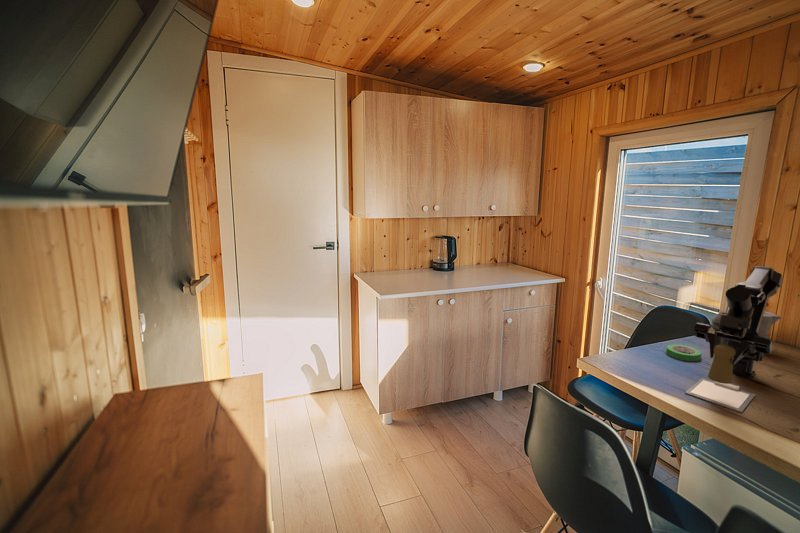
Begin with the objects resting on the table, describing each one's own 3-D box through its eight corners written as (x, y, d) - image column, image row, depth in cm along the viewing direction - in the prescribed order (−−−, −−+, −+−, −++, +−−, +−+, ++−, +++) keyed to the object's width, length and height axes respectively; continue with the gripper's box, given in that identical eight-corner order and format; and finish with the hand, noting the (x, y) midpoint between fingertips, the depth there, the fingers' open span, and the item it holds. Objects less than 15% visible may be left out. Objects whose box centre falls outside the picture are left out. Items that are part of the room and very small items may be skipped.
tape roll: (659, 353, 155) (660, 346, 155) (677, 348, 159) (678, 342, 159) (689, 364, 145) (690, 357, 145) (706, 358, 149) (707, 352, 149)
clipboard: (701, 378, 133) (702, 375, 133) (755, 395, 122) (755, 391, 122) (685, 393, 123) (685, 389, 123) (741, 413, 112) (742, 408, 112)
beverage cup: (703, 347, 160) (710, 301, 156) (715, 344, 162) (723, 299, 158) (722, 354, 153) (730, 306, 149) (735, 351, 155) (743, 304, 151)
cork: (737, 382, 118) (743, 348, 116) (723, 385, 116) (728, 351, 114) (717, 373, 123) (722, 341, 121) (702, 375, 122) (707, 343, 120)
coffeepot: (775, 348, 157) (783, 306, 154) (775, 355, 151) (783, 312, 147) (726, 339, 168) (733, 299, 164) (724, 345, 161) (731, 304, 158)
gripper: (698, 298, 125) (681, 338, 121) (777, 312, 110) (761, 358, 106) (703, 316, 131) (687, 355, 127) (778, 332, 116) (763, 376, 112)
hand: (721, 360), depth 118 cm, fingers closed on cork, 5 cm apart
